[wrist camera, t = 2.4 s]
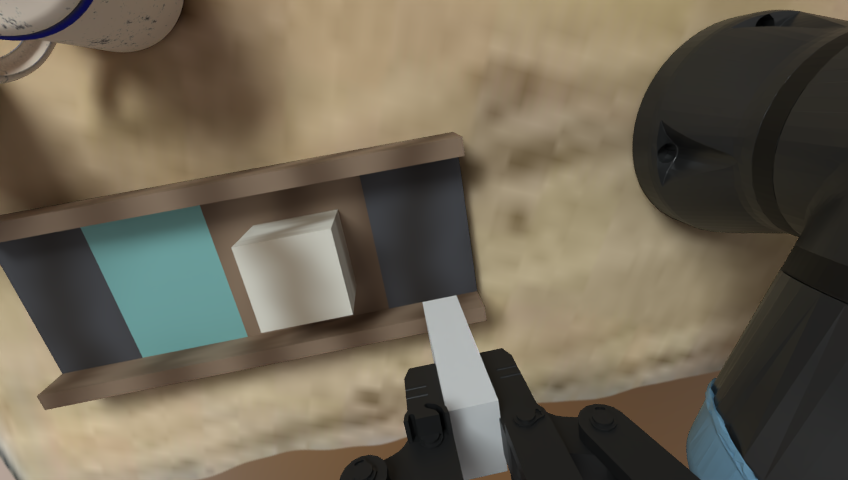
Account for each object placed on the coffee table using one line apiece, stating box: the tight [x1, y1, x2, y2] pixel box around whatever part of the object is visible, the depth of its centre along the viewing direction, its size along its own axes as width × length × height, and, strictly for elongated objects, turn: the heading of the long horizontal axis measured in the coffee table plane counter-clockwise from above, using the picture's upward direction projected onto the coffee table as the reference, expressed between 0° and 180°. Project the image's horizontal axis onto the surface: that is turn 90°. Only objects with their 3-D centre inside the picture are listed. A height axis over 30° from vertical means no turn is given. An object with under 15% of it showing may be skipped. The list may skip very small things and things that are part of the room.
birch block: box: [231, 209, 357, 333], centre depth 28 cm, size 6×6×4 cm
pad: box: [80, 205, 248, 358], centre depth 30 cm, size 8×11×1 cm
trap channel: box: [0, 132, 487, 410], centre depth 29 cm, size 32×13×4 cm, turn 100°
